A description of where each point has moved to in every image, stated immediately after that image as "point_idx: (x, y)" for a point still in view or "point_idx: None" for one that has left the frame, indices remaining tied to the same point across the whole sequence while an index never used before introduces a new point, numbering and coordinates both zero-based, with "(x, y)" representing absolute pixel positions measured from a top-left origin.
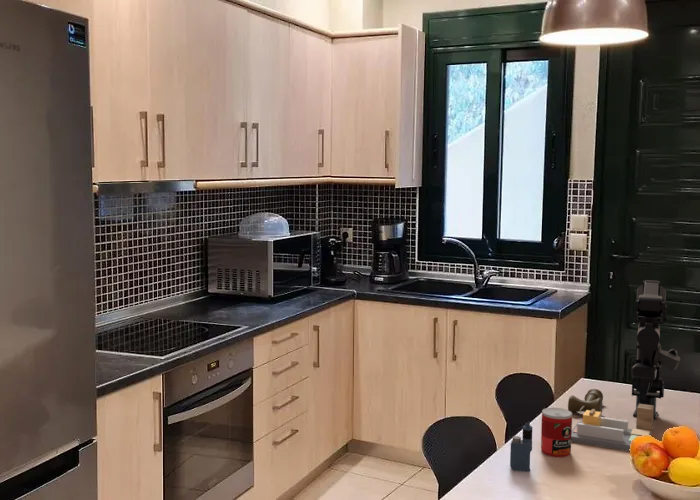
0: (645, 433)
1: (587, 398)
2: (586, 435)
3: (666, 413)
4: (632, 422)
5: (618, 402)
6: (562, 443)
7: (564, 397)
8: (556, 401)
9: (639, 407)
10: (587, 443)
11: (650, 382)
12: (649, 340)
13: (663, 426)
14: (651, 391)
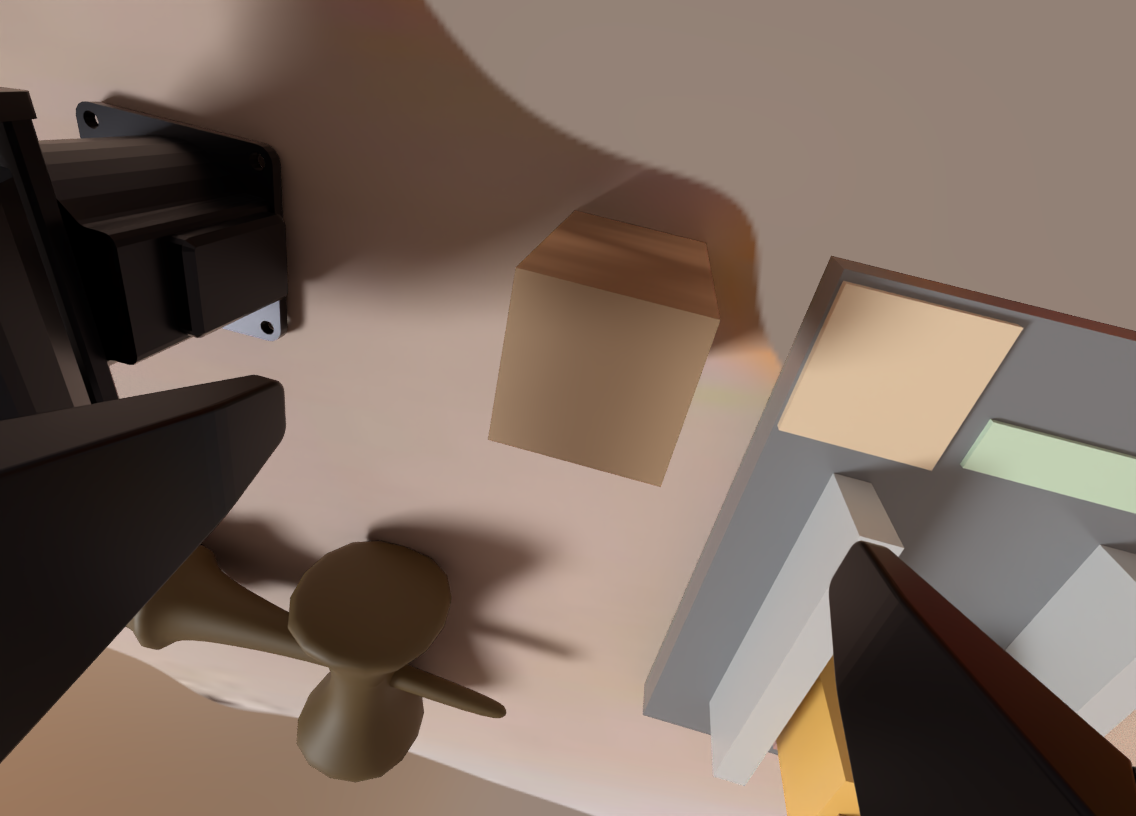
0: (934, 343)
1: (224, 643)
2: None
3: (24, 2)
4: (439, 359)
5: None
6: None
7: (134, 653)
8: (228, 695)
9: (657, 462)
10: None
11: (145, 460)
12: None
13: (452, 84)
14: (42, 265)
